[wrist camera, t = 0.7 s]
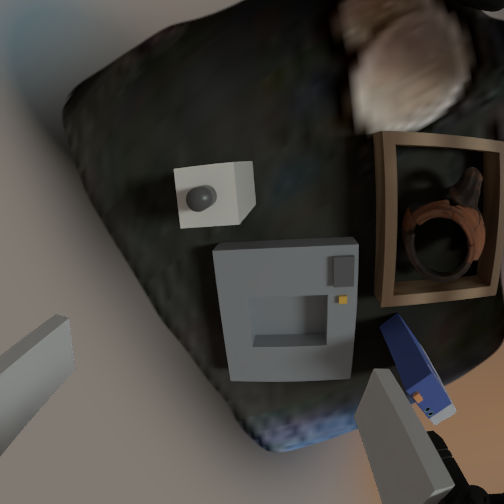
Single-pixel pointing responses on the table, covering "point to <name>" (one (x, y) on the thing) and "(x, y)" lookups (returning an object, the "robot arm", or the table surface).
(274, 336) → the socket plate
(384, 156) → the mug frame
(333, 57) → the table surface
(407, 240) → the pottery mug
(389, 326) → the walkman
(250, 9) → the table surface
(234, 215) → the plug
